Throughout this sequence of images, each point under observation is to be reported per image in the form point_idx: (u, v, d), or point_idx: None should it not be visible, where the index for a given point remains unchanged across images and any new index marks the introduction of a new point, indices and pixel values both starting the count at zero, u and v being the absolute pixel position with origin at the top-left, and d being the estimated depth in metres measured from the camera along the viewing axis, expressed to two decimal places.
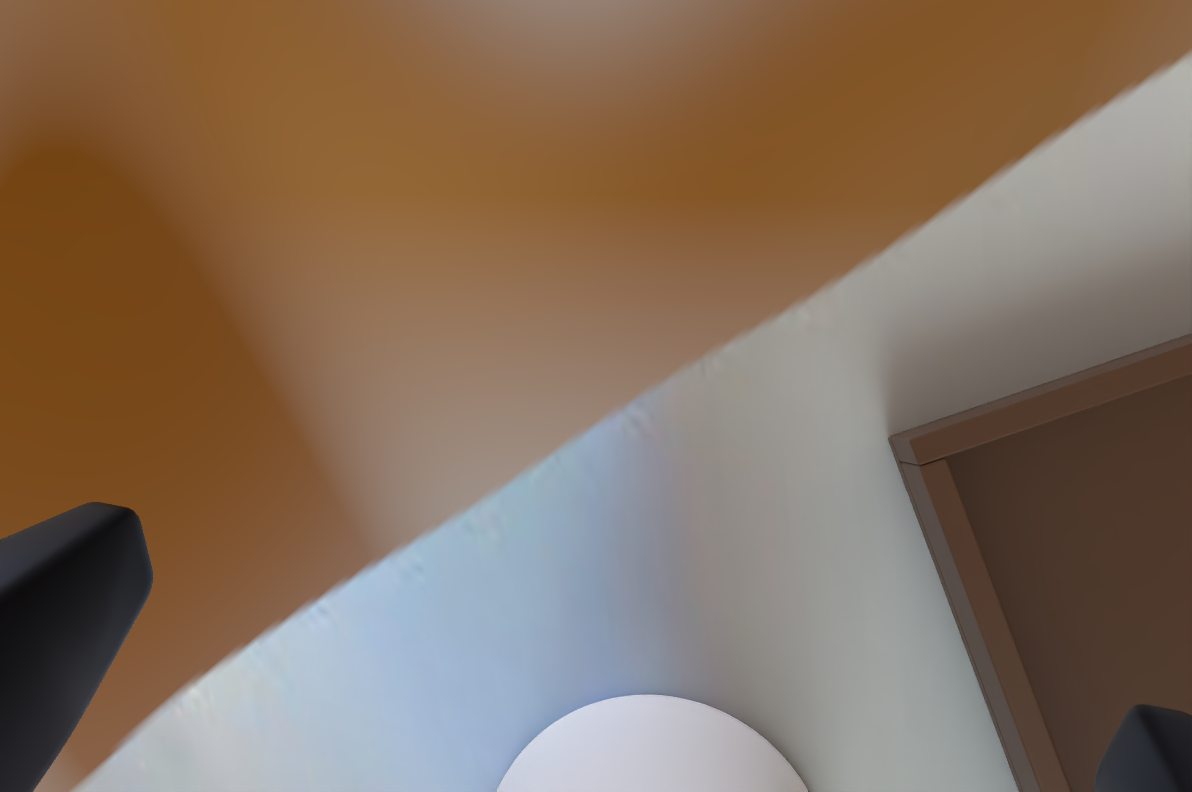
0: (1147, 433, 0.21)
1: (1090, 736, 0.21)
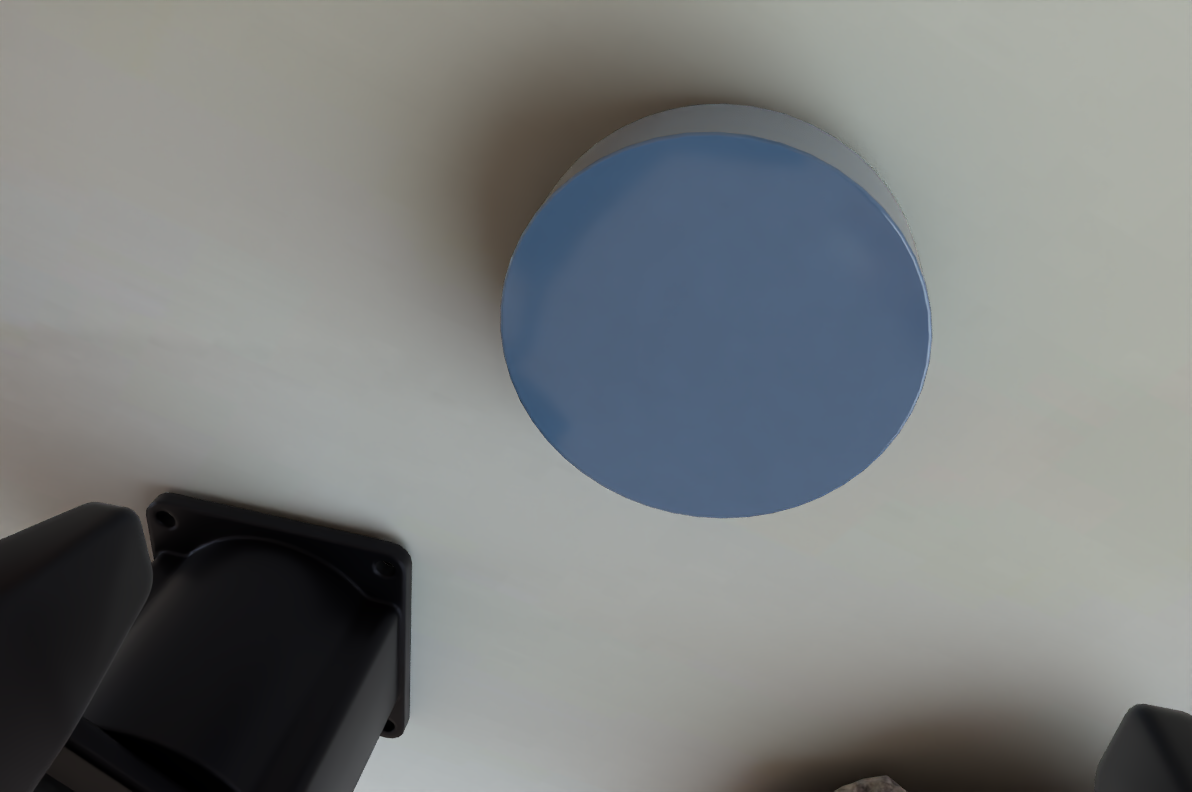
0: None
1: None
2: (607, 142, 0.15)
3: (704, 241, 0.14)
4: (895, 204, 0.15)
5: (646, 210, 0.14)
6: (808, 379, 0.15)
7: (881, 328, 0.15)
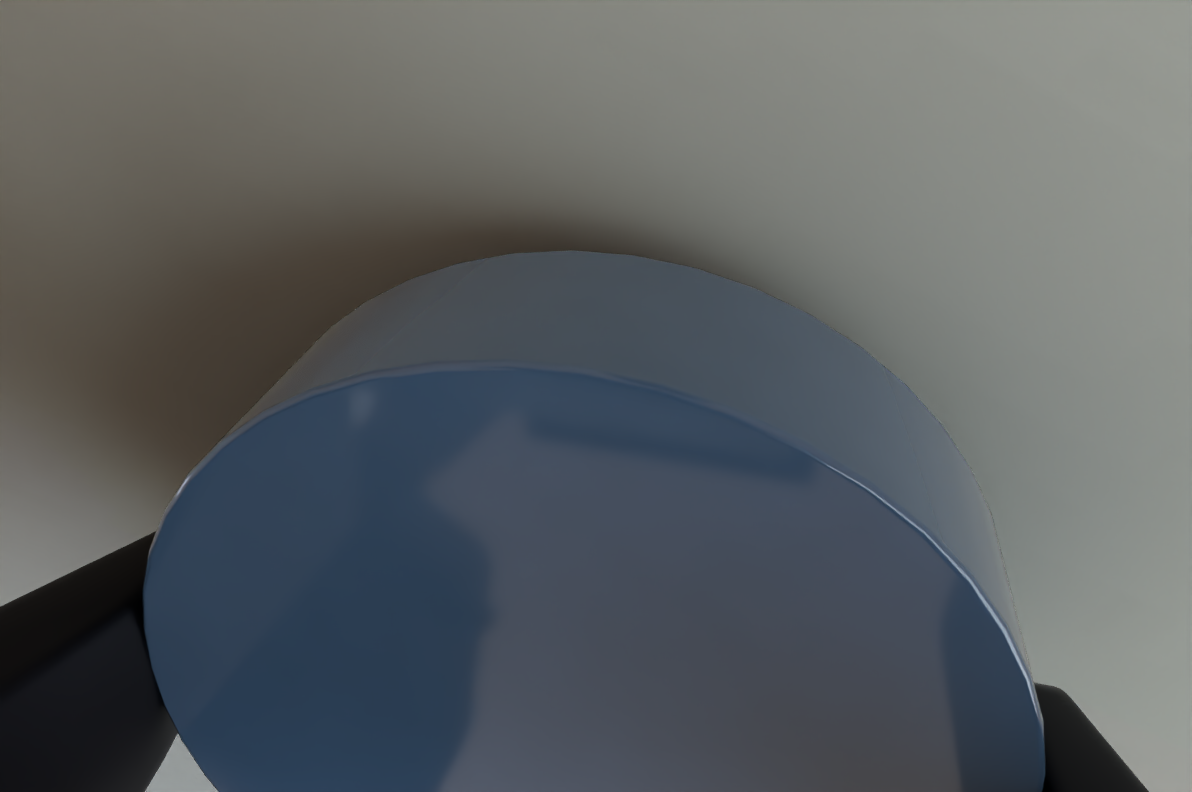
0: None
1: None
2: (322, 344, 0.07)
3: (519, 576, 0.06)
4: (949, 461, 0.07)
5: (383, 515, 0.06)
6: None
7: (929, 750, 0.06)
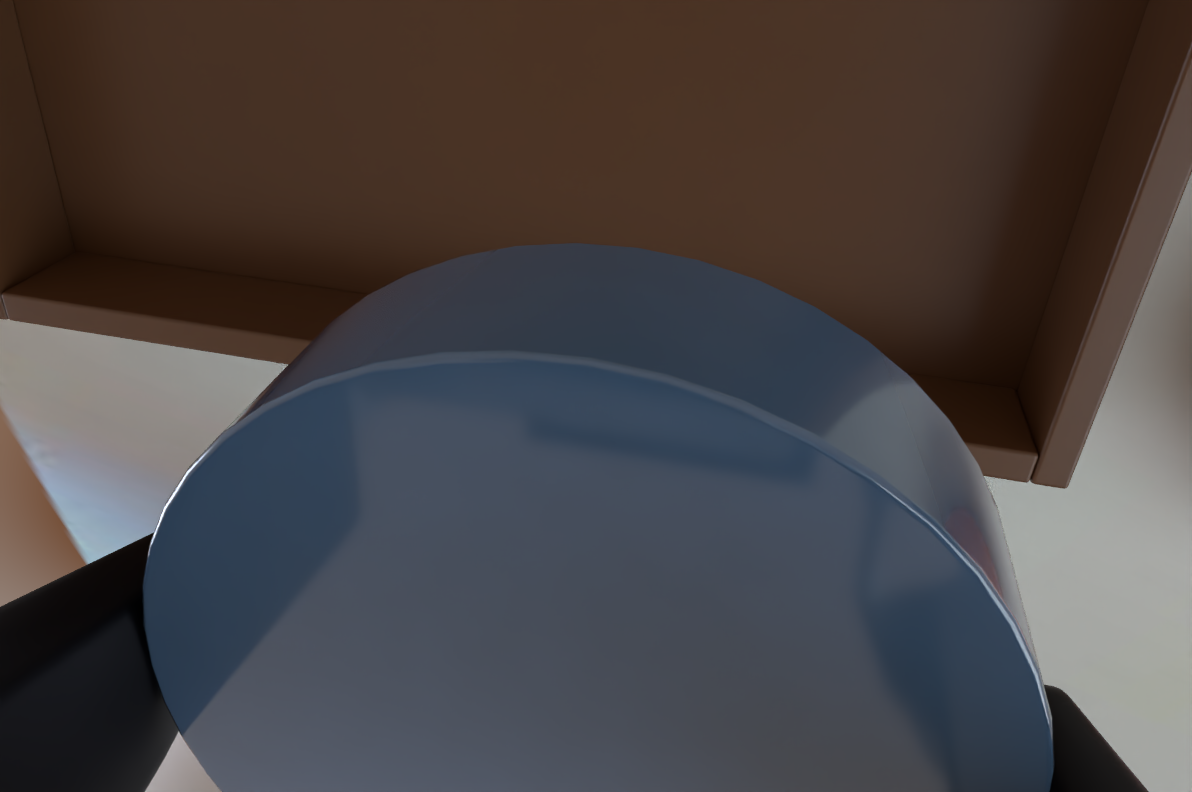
0: (73, 15, 0.17)
1: (397, 239, 0.18)
2: (323, 338, 0.07)
3: (522, 571, 0.06)
4: (956, 456, 0.07)
5: (386, 509, 0.06)
6: None
7: (936, 747, 0.06)
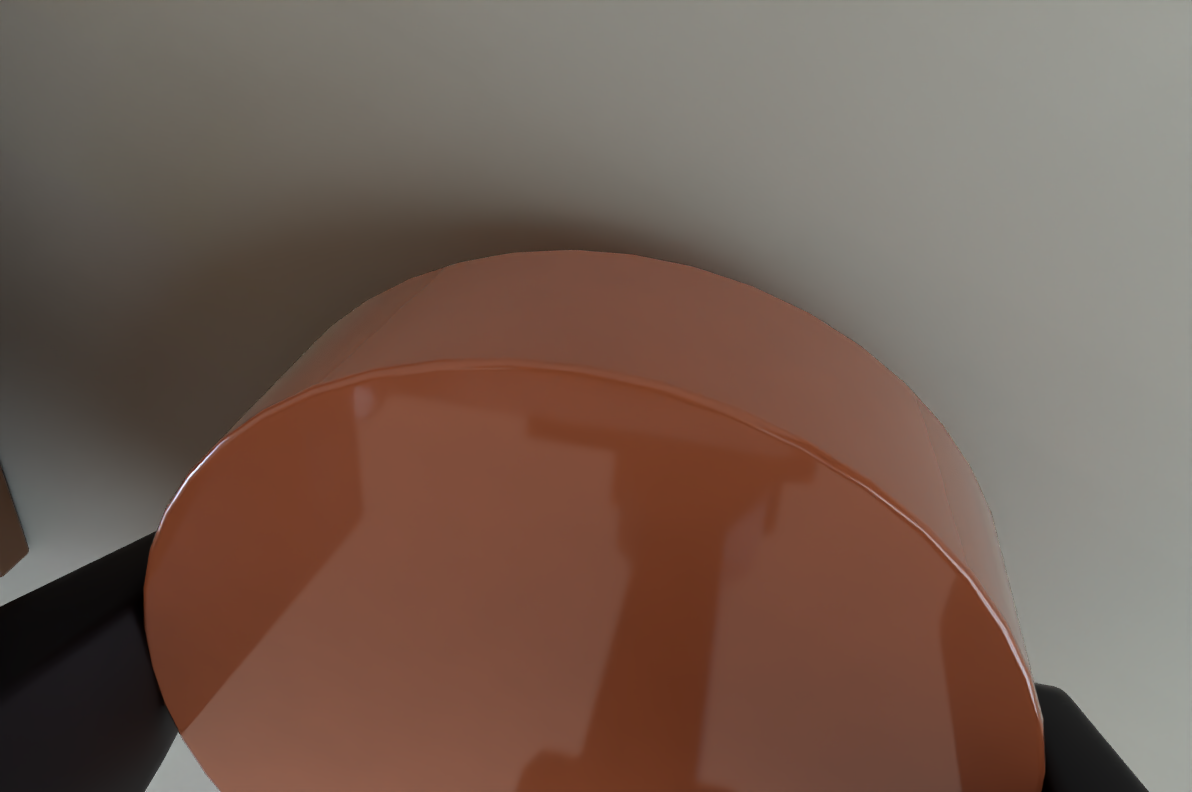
0: None
1: None
2: None
3: None
4: None
5: None
6: None
7: None
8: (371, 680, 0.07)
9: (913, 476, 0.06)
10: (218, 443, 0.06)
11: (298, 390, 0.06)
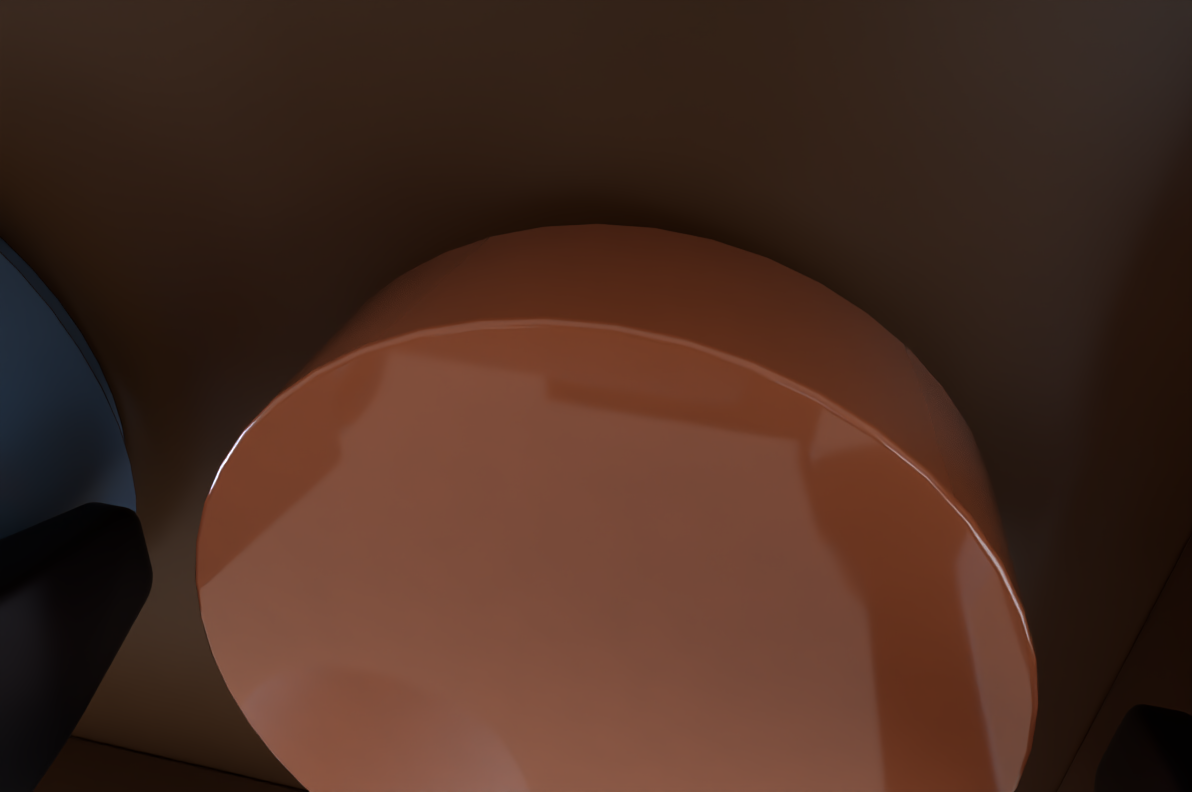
0: None
1: (138, 697, 0.13)
2: None
3: None
4: None
5: None
6: None
7: None
8: (409, 627, 0.08)
9: (917, 429, 0.06)
10: (273, 401, 0.07)
11: (349, 350, 0.07)
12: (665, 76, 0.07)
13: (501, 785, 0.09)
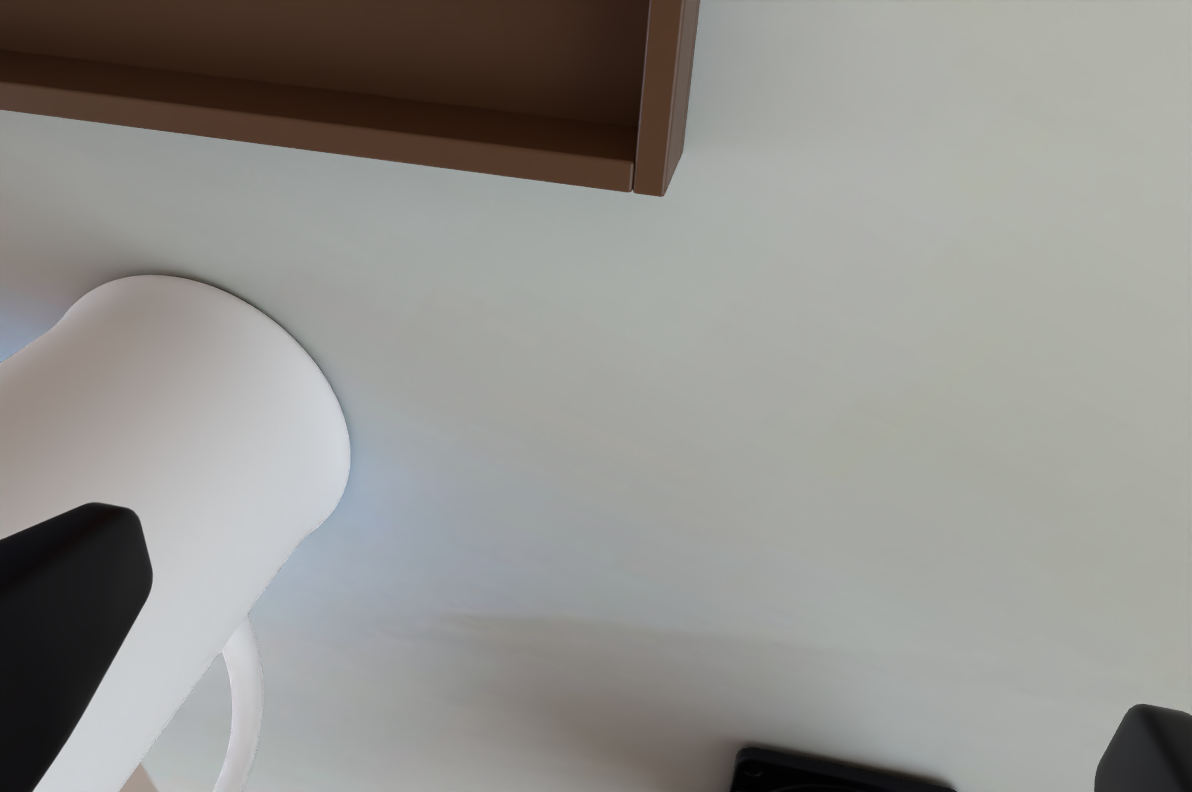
0: None
1: (101, 1, 0.20)
2: None
3: None
4: None
5: None
6: None
7: None
8: None
9: None
10: None
11: None
12: None
13: None
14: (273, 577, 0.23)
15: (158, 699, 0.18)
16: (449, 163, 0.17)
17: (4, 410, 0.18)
